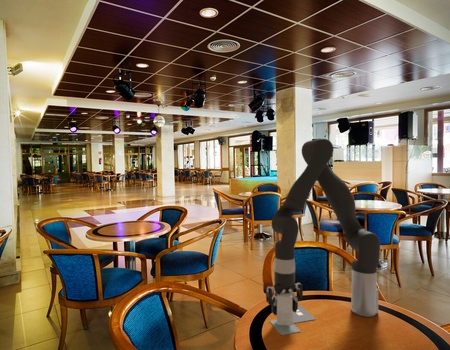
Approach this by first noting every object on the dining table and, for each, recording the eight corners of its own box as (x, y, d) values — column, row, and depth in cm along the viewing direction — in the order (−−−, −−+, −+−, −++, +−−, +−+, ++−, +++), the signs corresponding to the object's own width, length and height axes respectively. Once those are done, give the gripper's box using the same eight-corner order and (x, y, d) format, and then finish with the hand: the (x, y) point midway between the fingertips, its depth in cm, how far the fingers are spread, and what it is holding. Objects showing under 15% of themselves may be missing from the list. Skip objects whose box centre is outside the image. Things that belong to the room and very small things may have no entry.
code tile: (300, 305, 127) (300, 304, 127) (316, 319, 116) (316, 319, 116) (278, 308, 125) (278, 308, 125) (292, 323, 113) (292, 323, 113)
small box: (292, 326, 107) (292, 297, 106) (276, 324, 108) (276, 296, 107) (292, 315, 114) (292, 288, 114) (277, 313, 116) (277, 287, 115)
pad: (287, 318, 117) (287, 317, 117) (300, 332, 107) (300, 331, 107) (269, 321, 115) (269, 320, 115) (281, 335, 105) (281, 334, 105)
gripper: (296, 264, 116) (296, 305, 116) (262, 267, 112) (262, 310, 113) (307, 270, 109) (307, 314, 109) (270, 275, 105) (271, 320, 105)
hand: (284, 312), depth 111 cm, fingers closed on small box, 7 cm apart
